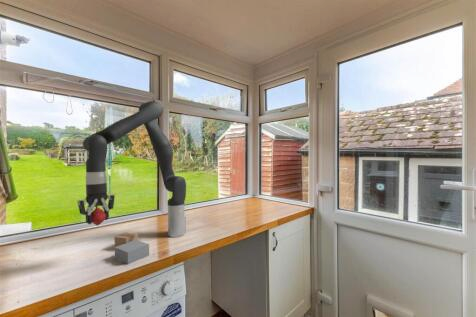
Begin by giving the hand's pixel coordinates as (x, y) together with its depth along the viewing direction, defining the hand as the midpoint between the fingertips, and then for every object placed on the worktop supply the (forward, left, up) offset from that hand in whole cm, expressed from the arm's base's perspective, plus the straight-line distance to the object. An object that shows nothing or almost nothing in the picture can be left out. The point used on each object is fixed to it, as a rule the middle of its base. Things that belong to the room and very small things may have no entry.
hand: (97, 221), depth 95 cm
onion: (0, 0, -2) cm, 2 cm away
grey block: (-10, +9, -17) cm, 22 cm away
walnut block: (-15, -4, -17) cm, 23 cm away
